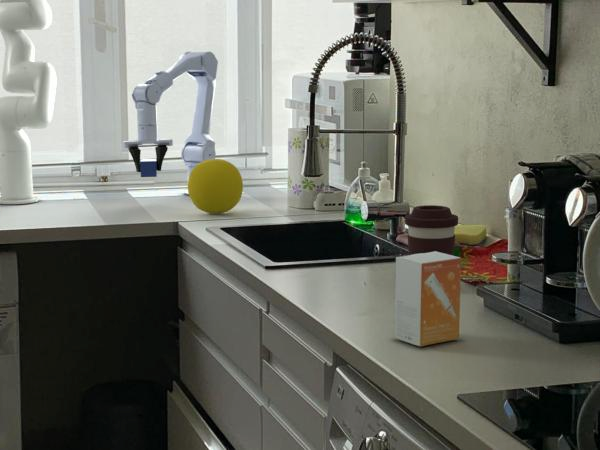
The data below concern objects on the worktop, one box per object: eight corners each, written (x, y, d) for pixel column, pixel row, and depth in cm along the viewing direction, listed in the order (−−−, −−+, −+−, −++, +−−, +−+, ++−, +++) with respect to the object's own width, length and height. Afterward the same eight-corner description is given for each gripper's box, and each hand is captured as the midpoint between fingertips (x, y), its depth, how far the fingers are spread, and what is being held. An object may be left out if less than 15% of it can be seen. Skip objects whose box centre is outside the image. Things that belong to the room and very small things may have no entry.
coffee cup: (400, 280, 202) (400, 204, 200) (450, 279, 203) (451, 203, 201) (409, 292, 193) (410, 212, 190) (462, 291, 193) (463, 211, 191)
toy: (233, 207, 298) (232, 155, 296) (250, 215, 284) (249, 160, 281) (182, 210, 293) (181, 157, 290) (196, 219, 279) (195, 163, 276)
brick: (156, 176, 307) (155, 161, 307) (140, 177, 307) (140, 161, 306) (156, 174, 312) (156, 159, 311) (141, 175, 312) (140, 159, 311)
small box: (420, 347, 157) (421, 263, 155) (394, 338, 162) (394, 256, 160) (460, 339, 162) (462, 256, 159) (433, 330, 167) (434, 250, 165)
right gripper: (167, 123, 313) (168, 168, 316) (119, 125, 308) (121, 171, 310) (174, 124, 307) (175, 170, 309) (125, 126, 301) (127, 173, 304)
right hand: (148, 171), depth 309 cm, fingers closed on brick, 5 cm apart
